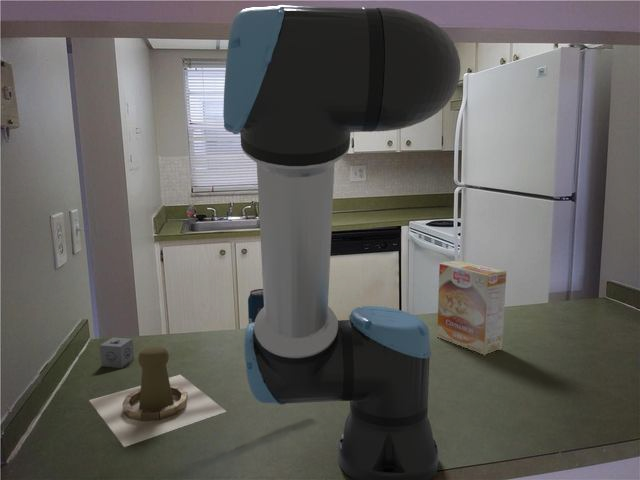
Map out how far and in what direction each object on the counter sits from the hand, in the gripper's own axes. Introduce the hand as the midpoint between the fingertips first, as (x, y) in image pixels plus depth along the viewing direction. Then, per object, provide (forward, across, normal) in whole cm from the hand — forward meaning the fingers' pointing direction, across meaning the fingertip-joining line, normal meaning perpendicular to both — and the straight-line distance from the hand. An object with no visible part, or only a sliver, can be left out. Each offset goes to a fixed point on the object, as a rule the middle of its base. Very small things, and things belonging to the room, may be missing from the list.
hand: (295, 244), depth 103 cm
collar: (+28, +5, +28) cm, 40 cm away
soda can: (+29, +26, -8) cm, 40 cm away
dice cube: (+29, +33, +26) cm, 51 cm away
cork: (+28, +5, +28) cm, 40 cm away
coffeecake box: (+29, -10, -45) cm, 54 cm away
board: (+29, +5, +28) cm, 40 cm away
